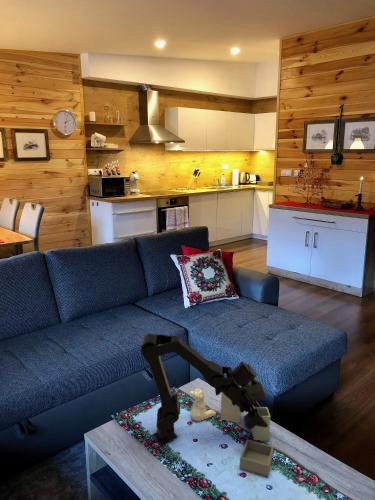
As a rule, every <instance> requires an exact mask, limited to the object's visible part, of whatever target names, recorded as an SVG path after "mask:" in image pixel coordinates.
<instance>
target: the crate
mask: <svg viewBox="0 0 375 500" xmlns="http://www.w3.org/2000/svg"><path fill="white" fill-rule="evenodd" d="M272 458H273V459H274V446H273V445H269V444H266V443H261V442H260V441H254V440H251V439H246V441H245V443H244V447H243V449H242V451H241V455H240V457H239V470H241V471H244V472H247V473H251V474H254V475H257V476H260V477H264V478H267V479H268V477H269V474H270V470H271V466H272V463H271V462H273V459H272Z"/></svg>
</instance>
